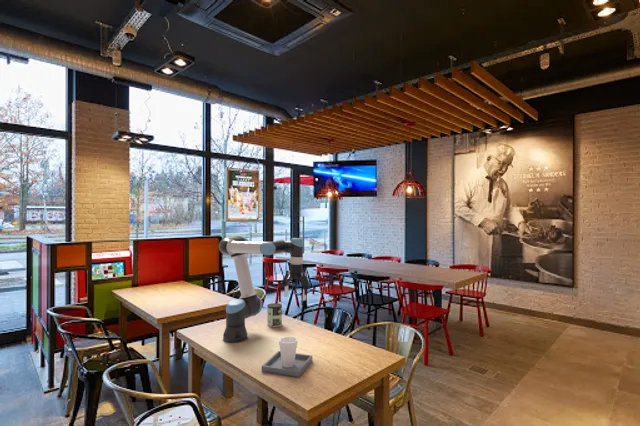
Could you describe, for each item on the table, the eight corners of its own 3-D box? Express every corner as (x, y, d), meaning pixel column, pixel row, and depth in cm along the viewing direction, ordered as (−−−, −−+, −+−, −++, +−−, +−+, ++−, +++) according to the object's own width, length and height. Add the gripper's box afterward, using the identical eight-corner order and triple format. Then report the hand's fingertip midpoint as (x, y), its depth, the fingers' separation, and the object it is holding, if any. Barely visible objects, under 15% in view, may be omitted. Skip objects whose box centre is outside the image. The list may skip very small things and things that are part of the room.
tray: (261, 371, 174) (261, 365, 174) (278, 356, 194) (278, 350, 194) (298, 378, 168) (298, 371, 168) (312, 361, 187) (312, 355, 187)
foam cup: (282, 370, 175) (282, 344, 175) (276, 362, 183) (276, 338, 183) (299, 366, 179) (299, 341, 179) (293, 359, 187) (293, 335, 187)
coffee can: (283, 323, 251) (283, 303, 251) (279, 327, 241) (279, 307, 241) (270, 322, 253) (270, 302, 253) (265, 326, 243) (265, 306, 243)
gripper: (317, 265, 209) (315, 300, 209) (283, 260, 222) (282, 294, 222) (310, 266, 203) (308, 302, 203) (276, 262, 216) (275, 296, 216)
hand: (295, 298), depth 212 cm, fingers open, 13 cm apart
